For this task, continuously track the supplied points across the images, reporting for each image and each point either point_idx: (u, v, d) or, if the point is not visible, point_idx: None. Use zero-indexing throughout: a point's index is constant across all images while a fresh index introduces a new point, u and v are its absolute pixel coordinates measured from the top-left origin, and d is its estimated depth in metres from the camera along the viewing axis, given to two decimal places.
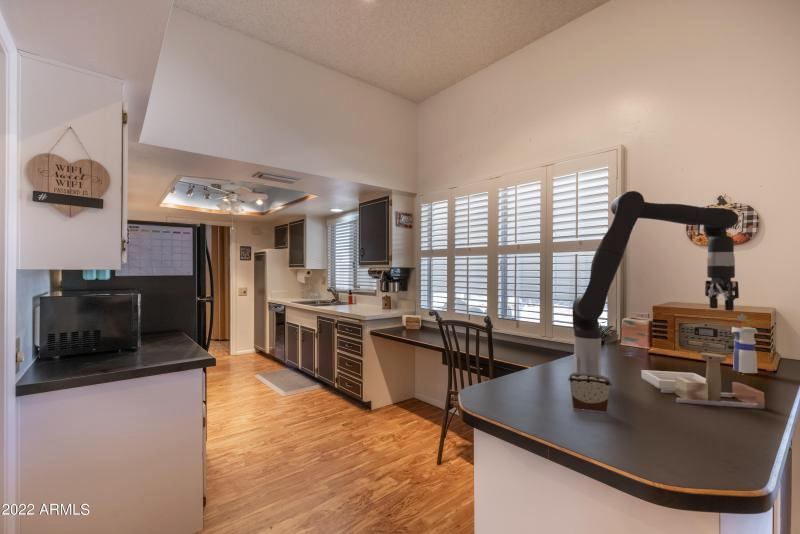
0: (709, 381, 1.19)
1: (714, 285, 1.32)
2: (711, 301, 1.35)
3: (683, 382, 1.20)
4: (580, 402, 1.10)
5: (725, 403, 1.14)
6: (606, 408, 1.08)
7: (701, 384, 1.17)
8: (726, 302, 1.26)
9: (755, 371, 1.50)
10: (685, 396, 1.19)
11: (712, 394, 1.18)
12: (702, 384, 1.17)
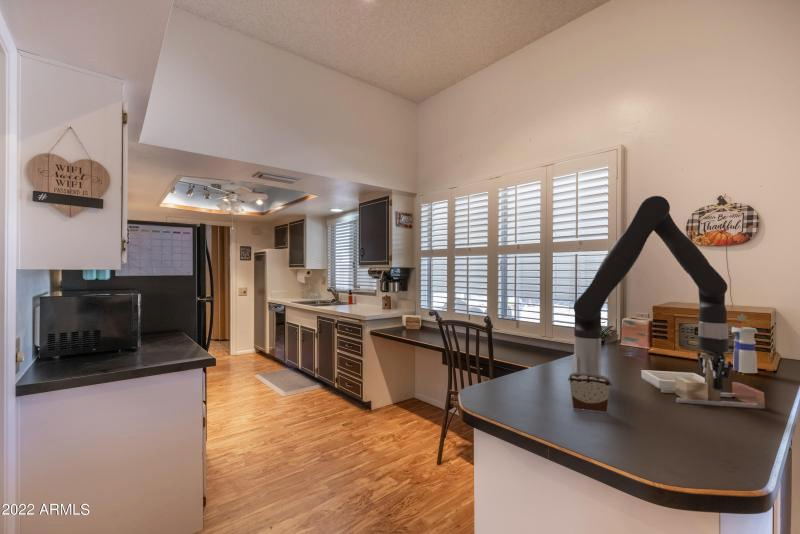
0: (709, 381, 1.19)
1: None
2: None
3: (683, 382, 1.20)
4: (580, 402, 1.10)
5: (725, 403, 1.14)
6: (606, 408, 1.08)
7: (701, 384, 1.17)
8: (715, 380, 1.17)
9: (755, 371, 1.50)
10: (685, 396, 1.19)
11: (712, 394, 1.18)
12: (702, 384, 1.17)
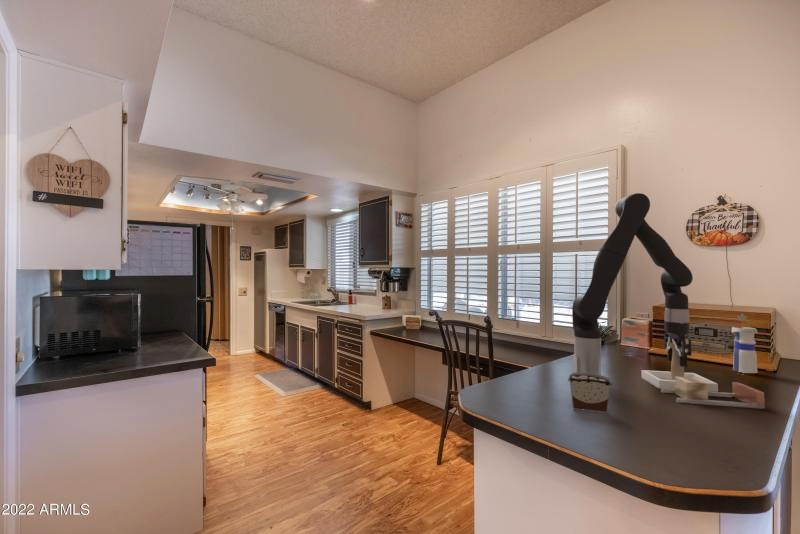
0: (674, 365, 1.35)
1: (671, 339, 1.37)
2: (669, 354, 1.40)
3: (683, 382, 1.20)
4: (580, 402, 1.10)
5: (725, 403, 1.14)
6: (606, 408, 1.08)
7: (701, 384, 1.17)
8: (680, 358, 1.32)
9: (755, 371, 1.50)
10: (685, 396, 1.19)
11: None
12: (702, 384, 1.17)
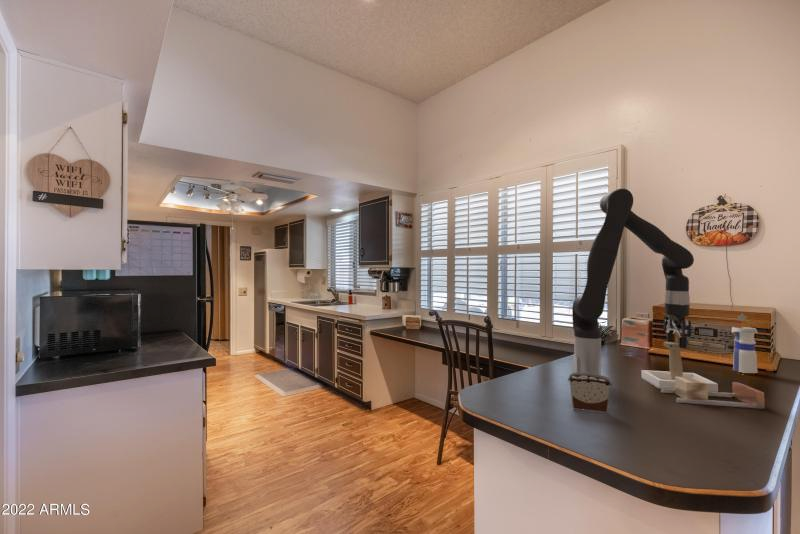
0: (672, 366, 1.35)
1: (670, 322, 1.37)
2: (668, 336, 1.40)
3: (683, 382, 1.20)
4: (580, 402, 1.10)
5: (725, 403, 1.14)
6: (606, 408, 1.08)
7: (701, 384, 1.17)
8: (680, 340, 1.32)
9: (755, 371, 1.50)
10: (685, 396, 1.19)
11: None
12: (702, 384, 1.17)
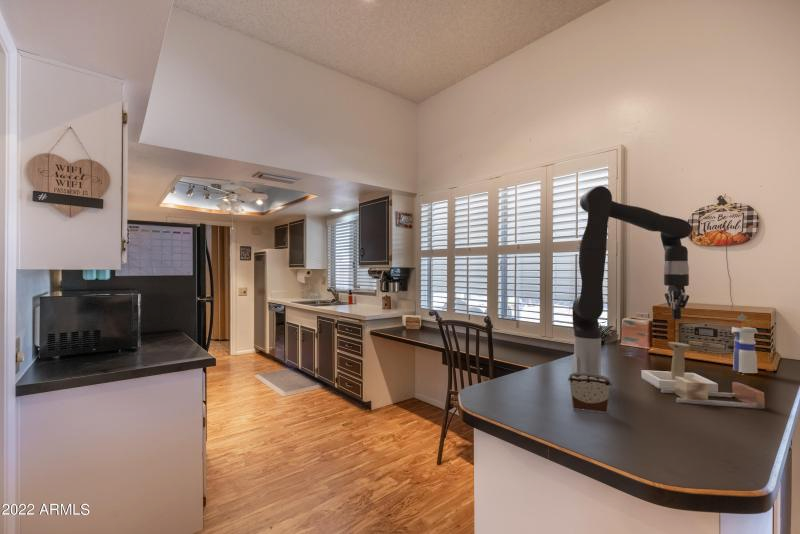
0: (674, 366, 1.35)
1: (670, 292, 1.37)
2: None
3: (683, 382, 1.20)
4: (580, 402, 1.10)
5: (725, 403, 1.14)
6: (606, 408, 1.08)
7: (701, 384, 1.17)
8: (674, 311, 1.36)
9: (755, 371, 1.50)
10: (685, 396, 1.19)
11: None
12: (702, 384, 1.17)
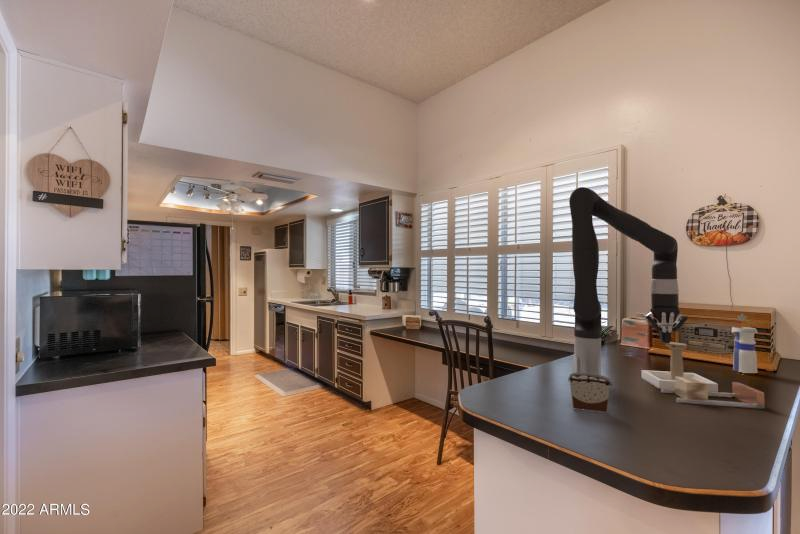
0: (673, 366, 1.35)
1: None
2: None
3: (683, 382, 1.20)
4: (580, 402, 1.10)
5: (725, 403, 1.14)
6: (606, 408, 1.08)
7: (701, 384, 1.17)
8: None
9: (755, 371, 1.50)
10: (685, 396, 1.19)
11: None
12: (702, 384, 1.17)
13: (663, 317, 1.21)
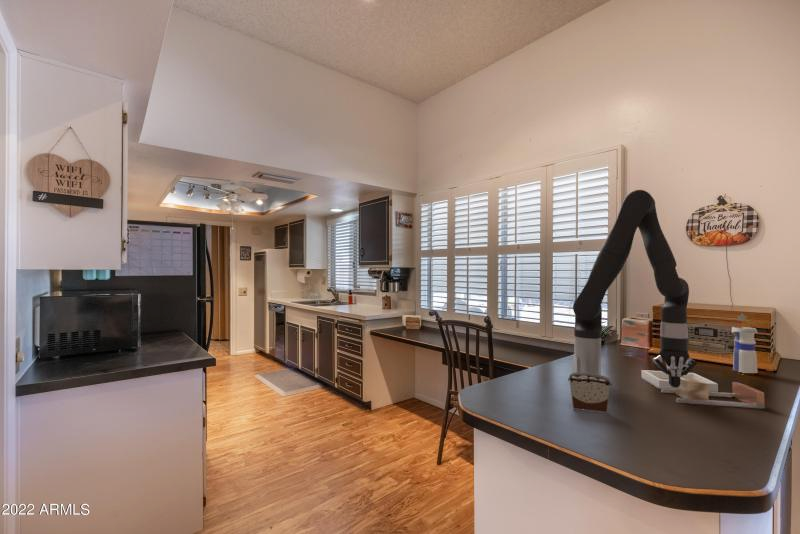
0: None
1: None
2: None
3: (684, 382, 1.20)
4: (580, 402, 1.10)
5: (725, 403, 1.14)
6: (606, 408, 1.08)
7: (702, 384, 1.17)
8: None
9: (755, 371, 1.50)
10: (686, 396, 1.19)
11: None
12: (703, 384, 1.17)
13: (672, 361, 1.20)
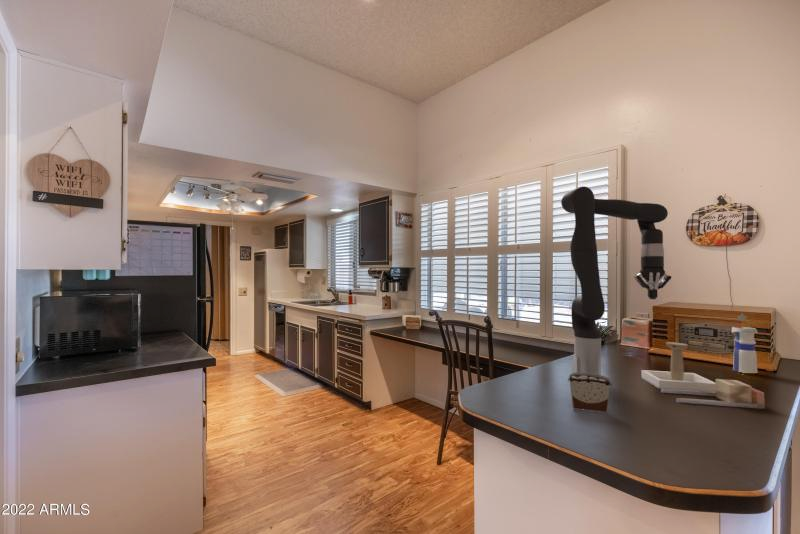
0: (673, 366, 1.35)
1: None
2: None
3: (725, 385, 1.17)
4: (580, 402, 1.10)
5: (725, 403, 1.14)
6: (606, 408, 1.08)
7: (744, 387, 1.14)
8: None
9: (755, 371, 1.50)
10: (728, 399, 1.16)
11: (675, 378, 1.34)
12: (746, 387, 1.14)
13: (650, 276, 1.41)
